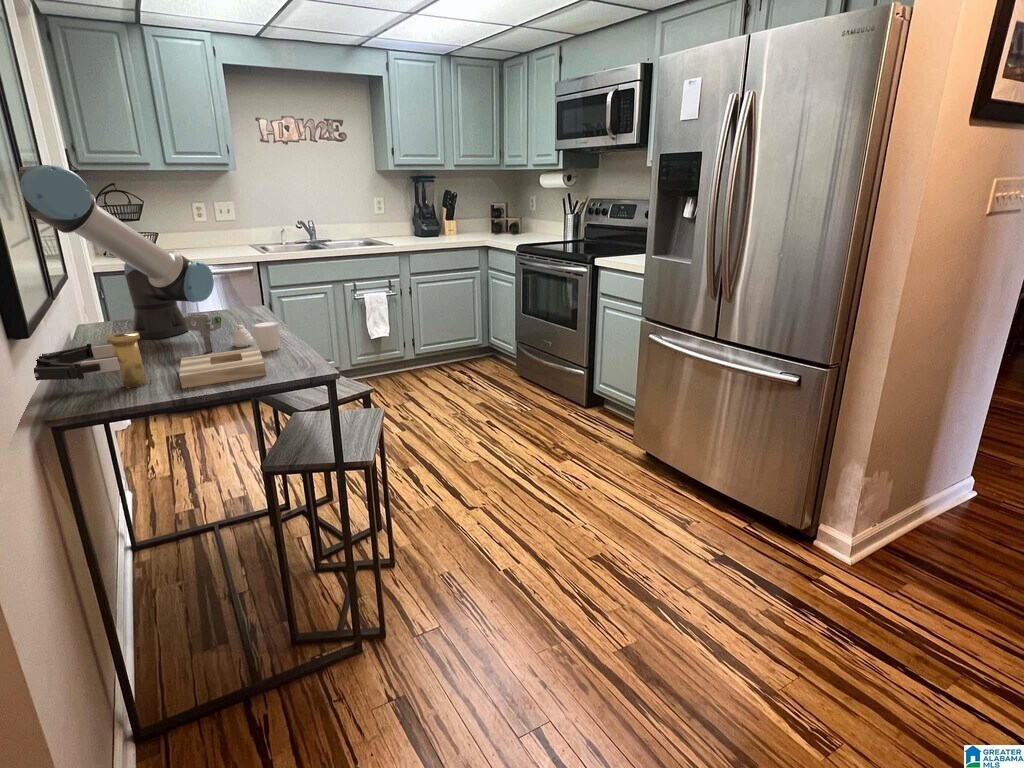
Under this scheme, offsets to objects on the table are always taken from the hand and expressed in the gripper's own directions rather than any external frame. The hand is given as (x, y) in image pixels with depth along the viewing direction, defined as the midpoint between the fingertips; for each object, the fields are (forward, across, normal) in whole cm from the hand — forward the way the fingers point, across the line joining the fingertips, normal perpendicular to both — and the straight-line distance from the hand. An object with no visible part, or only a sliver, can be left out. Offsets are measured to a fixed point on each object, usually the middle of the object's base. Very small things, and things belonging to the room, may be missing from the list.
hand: (122, 355), depth 136 cm
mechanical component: (+17, -22, -8) cm, 29 cm away
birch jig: (+20, 0, -7) cm, 21 cm away
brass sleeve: (+1, 0, -7) cm, 7 cm away
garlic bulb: (+26, -25, -8) cm, 36 cm away
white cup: (+32, -17, -8) cm, 37 cm away
